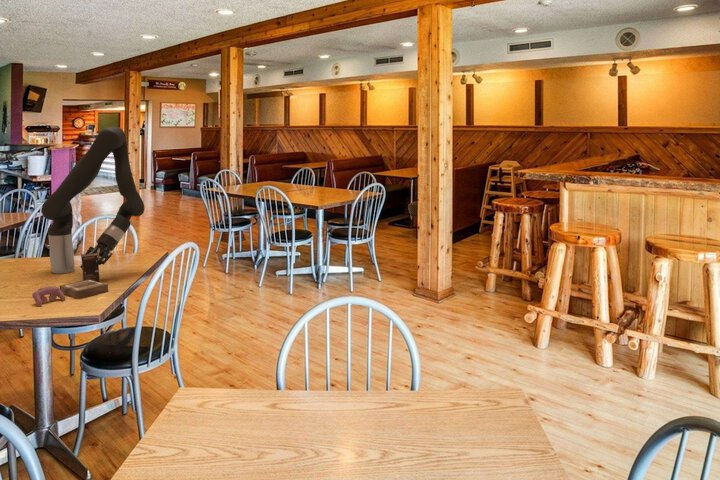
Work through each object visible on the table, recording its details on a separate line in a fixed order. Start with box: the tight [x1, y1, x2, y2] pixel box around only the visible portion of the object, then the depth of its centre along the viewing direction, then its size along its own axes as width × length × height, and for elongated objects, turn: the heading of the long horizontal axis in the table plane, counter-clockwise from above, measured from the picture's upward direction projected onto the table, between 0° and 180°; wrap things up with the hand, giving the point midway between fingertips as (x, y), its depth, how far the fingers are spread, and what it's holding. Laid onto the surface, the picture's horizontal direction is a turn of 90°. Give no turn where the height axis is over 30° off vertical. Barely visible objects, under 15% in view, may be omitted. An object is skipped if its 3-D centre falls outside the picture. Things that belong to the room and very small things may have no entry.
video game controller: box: [31, 285, 66, 307], centre depth 198 cm, size 10×5×7 cm, turn 146°
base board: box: [59, 279, 109, 300], centre depth 211 cm, size 13×12×3 cm
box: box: [80, 253, 101, 282], centre depth 225 cm, size 6×4×12 cm
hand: (86, 269), depth 223 cm, fingers closed on box, 6 cm apart
